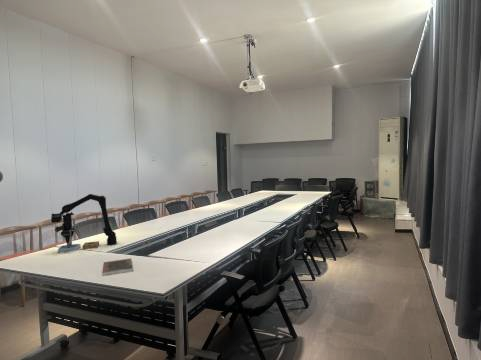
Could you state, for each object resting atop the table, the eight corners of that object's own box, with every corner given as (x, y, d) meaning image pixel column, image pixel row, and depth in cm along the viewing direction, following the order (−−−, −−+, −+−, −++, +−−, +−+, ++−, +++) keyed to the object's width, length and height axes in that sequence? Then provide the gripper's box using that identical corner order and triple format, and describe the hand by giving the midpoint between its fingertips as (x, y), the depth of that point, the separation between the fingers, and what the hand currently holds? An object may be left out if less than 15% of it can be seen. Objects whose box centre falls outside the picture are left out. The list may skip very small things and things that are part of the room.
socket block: (99, 245, 249) (98, 241, 249) (97, 248, 240) (97, 244, 239) (85, 247, 246) (85, 242, 246) (82, 250, 237) (82, 245, 237)
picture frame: (132, 271, 185) (131, 261, 205) (132, 267, 184) (131, 257, 205) (102, 276, 179) (103, 265, 199) (102, 272, 178) (103, 261, 199)
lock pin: (72, 248, 241) (71, 235, 240) (71, 249, 238) (70, 236, 237) (67, 249, 240) (66, 236, 239) (66, 250, 237) (65, 237, 236)
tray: (80, 247, 246) (80, 243, 246) (77, 251, 235) (77, 247, 235) (62, 249, 242) (61, 245, 242) (58, 253, 232) (57, 249, 231)
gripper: (58, 220, 244) (60, 240, 245) (52, 224, 226) (53, 246, 227) (74, 219, 247) (76, 238, 248) (69, 223, 229) (70, 244, 230)
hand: (69, 241), depth 238 cm, fingers open, 9 cm apart
